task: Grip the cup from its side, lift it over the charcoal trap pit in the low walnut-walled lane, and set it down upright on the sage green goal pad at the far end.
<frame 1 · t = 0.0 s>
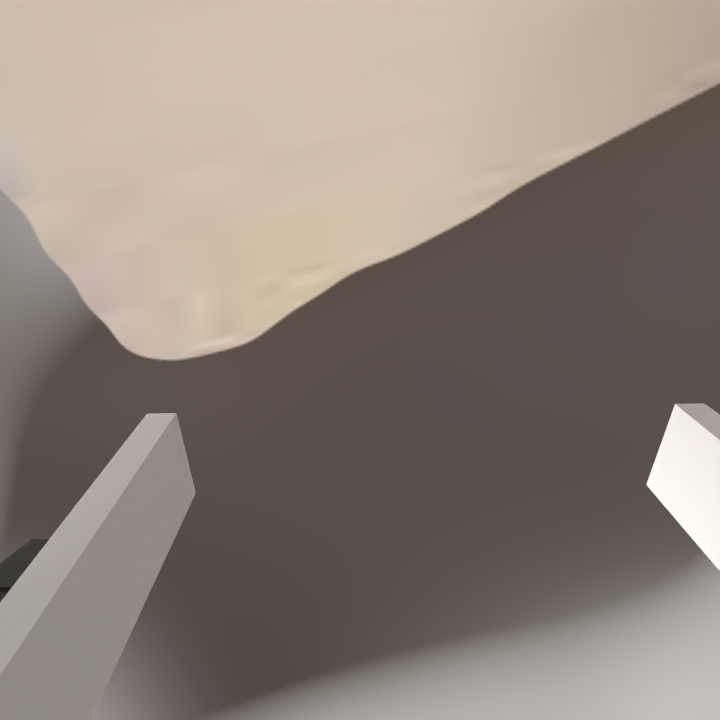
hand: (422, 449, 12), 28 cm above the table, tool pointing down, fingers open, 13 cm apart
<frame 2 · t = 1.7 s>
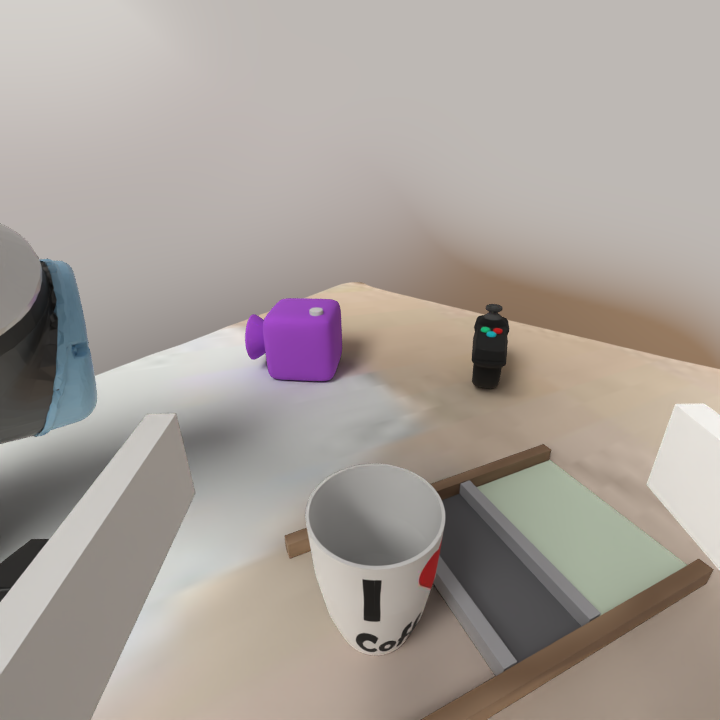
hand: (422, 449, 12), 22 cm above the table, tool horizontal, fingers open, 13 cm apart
cup: (374, 618, 30), on the table
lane: (486, 565, 33), on the table
controller: (484, 387, 58), on the table
toy camera: (296, 369, 63), on the table
trap pit: (480, 567, 33), on the table
goal pad: (567, 528, 36), on the table
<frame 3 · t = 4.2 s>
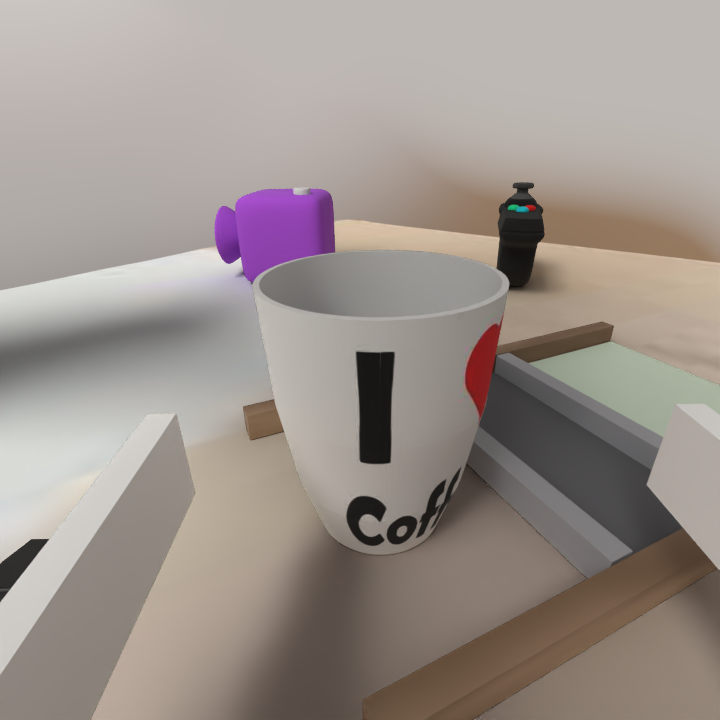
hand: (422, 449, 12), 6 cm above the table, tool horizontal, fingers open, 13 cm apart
cup: (378, 508, 19), on the table
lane: (545, 444, 22), on the table
controller: (510, 288, 47), on the table
toy camera: (279, 278, 52), on the table
trap pit: (538, 447, 22), on the table
goal pad: (655, 404, 25), on the table
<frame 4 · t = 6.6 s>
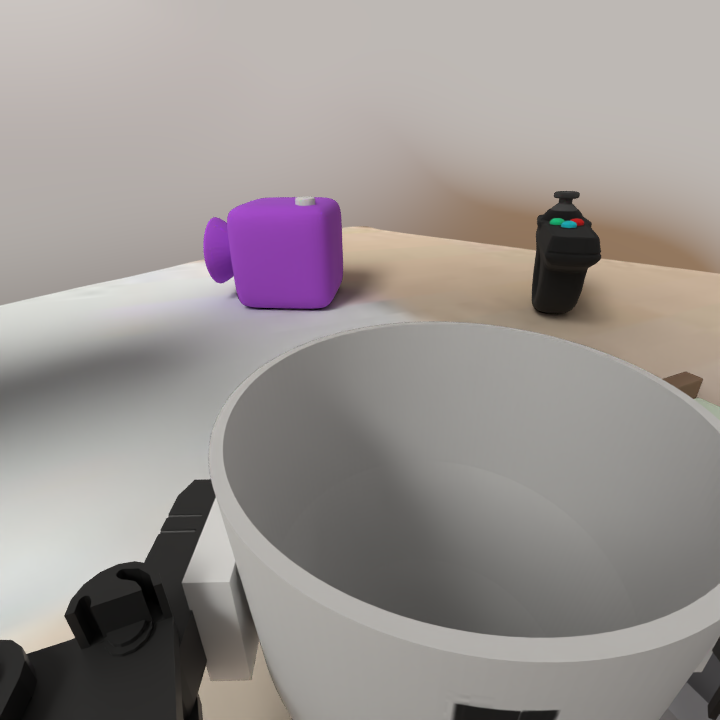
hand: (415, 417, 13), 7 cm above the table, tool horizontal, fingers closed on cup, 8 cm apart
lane: (660, 585, 15), on the table
controller: (550, 315, 40), on the table
toy camera: (279, 299, 45), on the table
trap pit: (650, 590, 15), on the table
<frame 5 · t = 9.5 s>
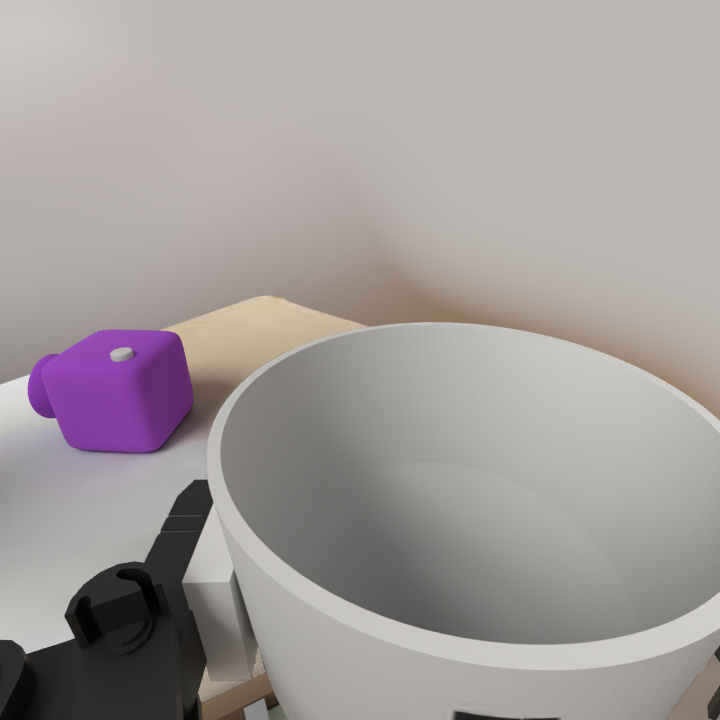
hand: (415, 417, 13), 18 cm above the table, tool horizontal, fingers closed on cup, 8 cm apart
toy camera: (122, 430, 45), on the table
when the fingers open (8 cm above the table, at t = 12.4 s): cup stays where it is, resting on goal pad.
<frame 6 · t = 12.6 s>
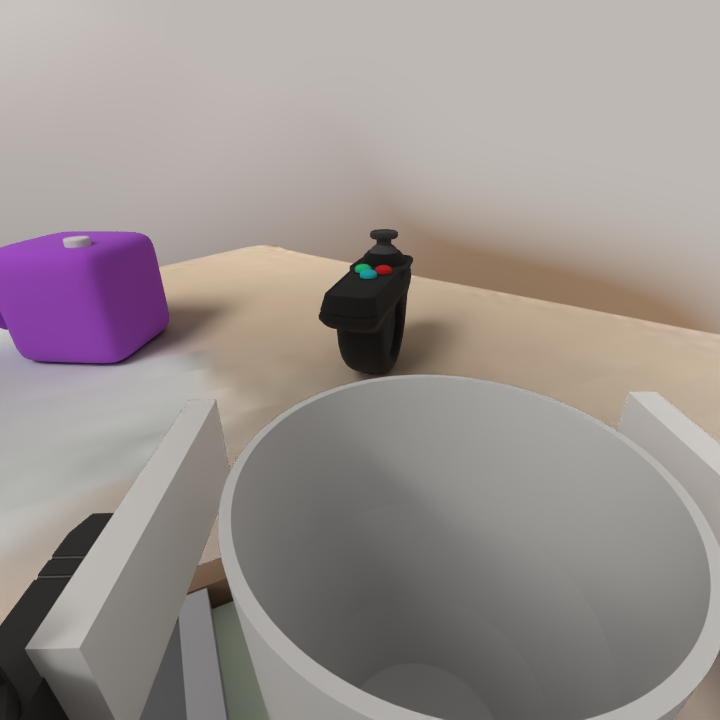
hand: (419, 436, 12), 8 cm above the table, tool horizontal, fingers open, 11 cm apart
controller: (372, 373, 34), on the table
toy camera: (87, 347, 39), on the table
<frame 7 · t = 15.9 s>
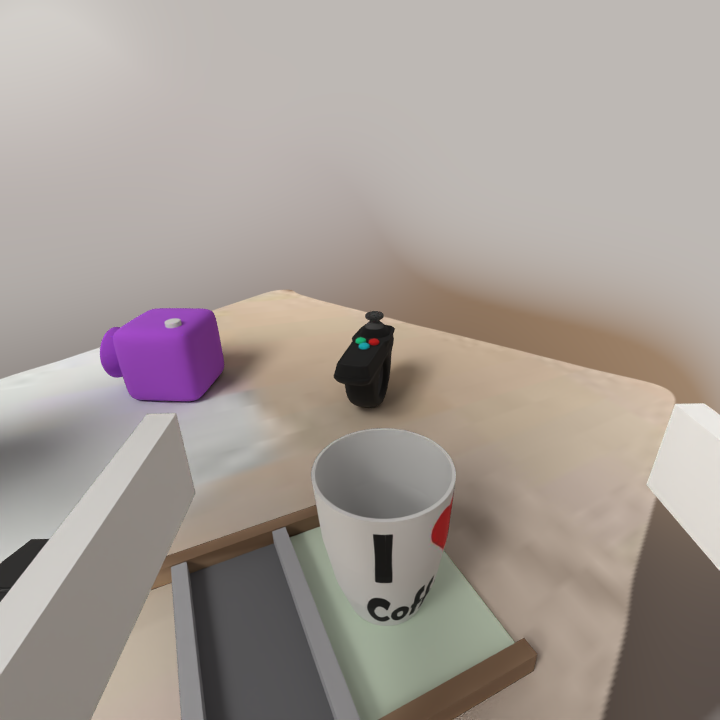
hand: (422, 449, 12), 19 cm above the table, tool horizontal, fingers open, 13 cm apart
cup: (385, 590, 29), resting on goal pad
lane: (262, 645, 26), on the table
controller: (368, 406, 51), on the table
toy camera: (169, 388, 56), on the table
trap pit: (254, 648, 26), on the table
goal pad: (387, 589, 29), on the table
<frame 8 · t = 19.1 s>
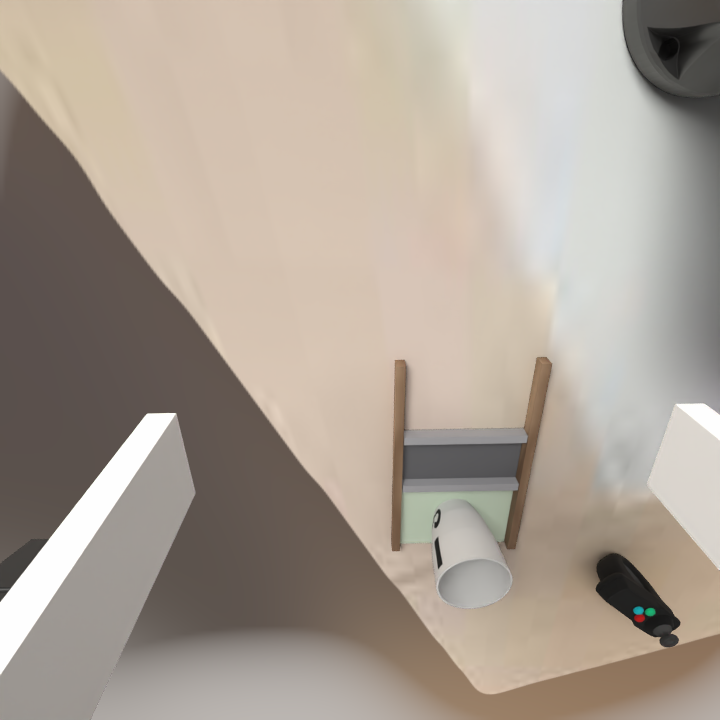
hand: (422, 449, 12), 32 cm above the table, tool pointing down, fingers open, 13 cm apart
cup: (453, 512, 56), resting on goal pad
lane: (459, 460, 52), on the table
controller: (608, 557, 60), on the table
trap pit: (460, 456, 52), on the table
goal pad: (454, 512, 56), on the table
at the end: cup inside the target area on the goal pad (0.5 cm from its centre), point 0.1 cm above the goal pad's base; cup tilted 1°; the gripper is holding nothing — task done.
